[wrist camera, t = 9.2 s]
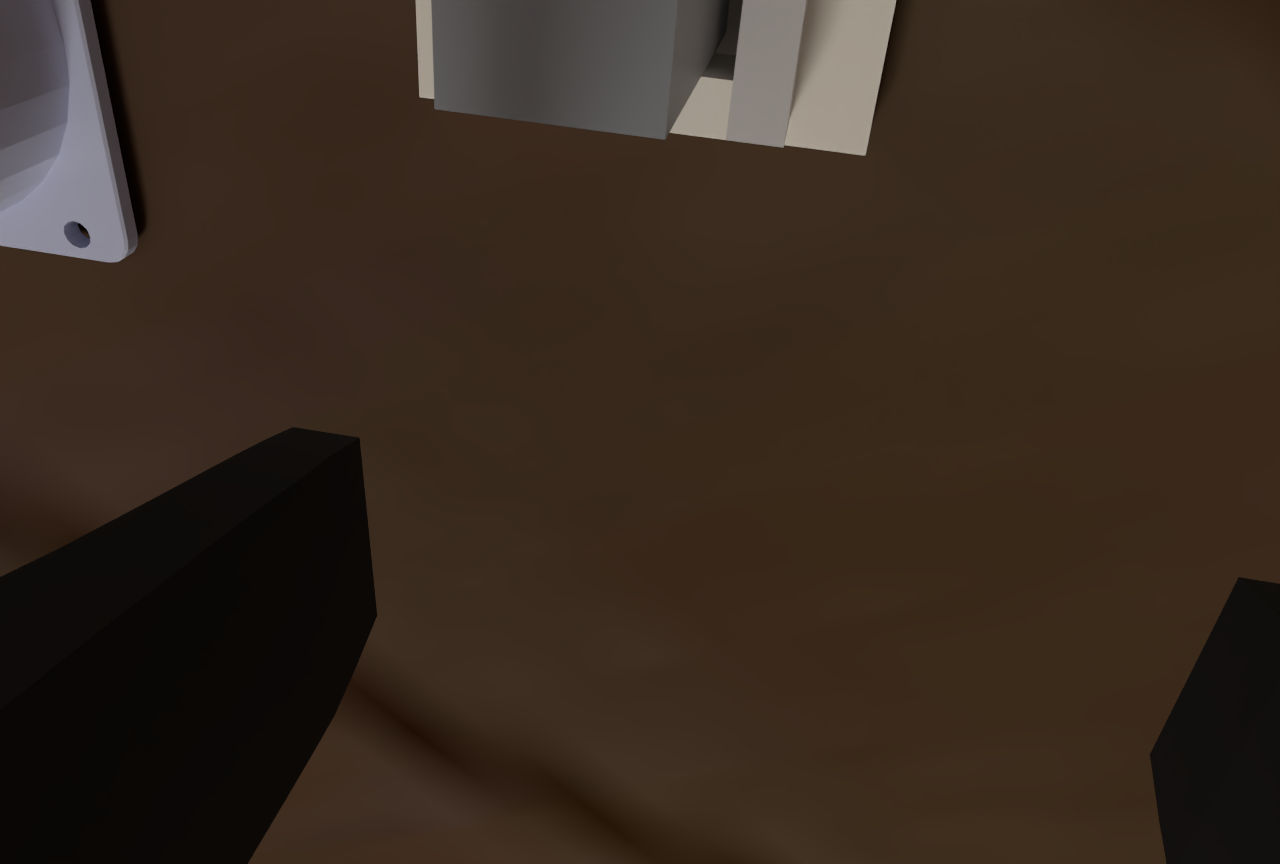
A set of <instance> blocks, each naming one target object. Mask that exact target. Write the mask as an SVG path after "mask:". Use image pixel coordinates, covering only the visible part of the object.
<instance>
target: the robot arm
mask: <svg viewBox="0 0 1280 864" xmlns="http://www.w3.org/2000/svg"><path fill="white" fill-rule="evenodd" d="M78 223H80V224H82V225H83V226H84V227H85V228H86V229H87V231H88V233H89V235H90V239H89V238H86V237H85V236H84V235H83V234H82V233H81V232H80V229H79V227H78ZM137 245H138V235H137V230H136V225H135V220H134V215H133V210H132V205H131V200H130V195H129V190H128V185H127V180H126V175H125V170H124V165H123V160H122V155H121V150H120V145H119V140H118V135H117V130H116V125H115V120H114V116H113V111H112V106H111V101H110V96H109V91H108V86H107V81H106V76H105V71H104V66H103V61H102V56H101V51H100V46H99V41H98V36H97V31H96V26H95V21H94V16H93V11H92V6H91V1H90V0H0V246H7V247H13V248H20V249H26V250H33V251H39V252H45V253H52V254H58V255H65V256H71V257H78V258H84V259H90V260H97V261H103V262H118V261H120V260H122V259H123V258H125V257H127V256H128V255H130V254H131V253H133V252H134V251H135V249H136V247H137ZM376 617H377V610H376V600H375V590H374V580H373V570H372V560H371V550H370V539H369V529H368V519H367V509H366V499H365V489H364V479H363V469H362V459H361V449H360V439H359V438H358V437H351V436H345V435H339V434H332V433H326V432H320V431H313V430H307V429H301V428H295V427H292V428H290V429H288V430H286V431H284V432H281V433H279V434H277V435H275V436H272V437H270V438H268V439H266V440H264V441H262V442H260V443H258V444H256V445H254V446H252V447H250V448H248V449H246V450H244V451H242V452H240V453H238V454H236V455H235V456H233V457H231V458H229V459H227V460H225V461H223V462H221V463H219V464H217V465H216V466H214V467H212V468H210V469H208V470H206V471H204V472H203V473H201V474H199V475H197V476H195V477H193V478H191V479H189V480H188V481H186V482H184V483H182V484H180V485H178V486H176V487H175V488H173V489H171V490H169V491H167V492H165V493H163V494H162V495H160V496H158V497H156V498H154V499H152V500H150V501H148V502H146V503H145V504H143V505H141V506H139V507H137V508H135V509H133V510H131V511H129V512H127V513H126V514H124V515H122V516H120V517H118V518H116V519H114V520H112V521H110V522H109V523H107V524H105V525H103V526H101V527H99V528H97V529H95V530H93V531H92V532H90V533H88V534H86V535H84V536H82V537H80V538H78V539H76V540H74V541H73V542H71V543H69V544H67V545H65V546H63V547H61V548H59V549H57V550H55V551H53V552H51V553H49V554H47V555H45V556H43V557H41V558H39V559H37V560H35V561H32V562H30V563H28V564H26V565H24V566H22V567H20V568H18V569H16V570H14V571H12V572H10V573H8V574H6V575H4V576H2V577H0V864H248V862H249V860H250V859H251V857H252V855H253V854H254V852H255V850H256V849H257V847H258V845H259V844H260V842H261V840H262V839H263V837H264V835H265V834H266V832H267V830H268V829H269V827H270V825H271V823H272V822H273V820H274V818H275V817H276V815H277V813H278V812H279V810H280V808H281V807H282V805H283V803H284V802H285V800H286V798H287V797H288V795H289V793H290V791H291V790H292V788H293V786H294V785H295V783H296V781H297V779H298V778H299V776H300V774H301V773H302V771H303V769H304V767H305V766H306V764H307V762H308V761H309V759H310V757H311V755H312V754H313V752H314V750H315V749H316V747H317V745H318V743H319V742H320V740H321V738H322V736H323V735H324V733H325V731H326V729H327V728H328V726H329V724H330V722H331V721H332V719H333V717H334V715H335V713H336V711H337V709H338V706H339V704H340V702H341V700H342V697H343V695H344V693H345V691H346V688H347V686H348V684H349V682H350V679H351V677H352V675H353V673H354V670H355V668H356V666H357V663H358V661H359V658H360V656H361V653H362V651H363V649H364V646H365V644H366V641H367V639H368V636H369V634H370V632H371V629H372V627H373V624H374V622H375V619H376ZM1150 757H1151V765H1152V772H1153V779H1154V786H1155V793H1156V801H1157V808H1158V815H1159V822H1160V828H1161V833H1162V839H1163V845H1164V851H1165V856H1166V862H1167V864H1280V584H1277V583H1271V582H1265V581H1258V580H1252V579H1246V578H1240V577H1239V578H1238V580H1237V582H1236V584H1235V586H1234V588H1233V590H1232V592H1231V594H1230V596H1229V598H1228V600H1227V602H1226V604H1225V606H1224V608H1223V610H1222V612H1221V614H1220V616H1219V618H1218V620H1217V622H1216V624H1215V626H1214V628H1213V630H1212V632H1211V634H1210V636H1209V638H1208V640H1207V642H1206V644H1205V646H1204V648H1203V650H1202V652H1201V654H1200V656H1199V658H1198V660H1197V662H1196V664H1195V666H1194V668H1193V670H1192V672H1191V674H1190V676H1189V678H1188V680H1187V682H1186V684H1185V686H1184V688H1183V690H1182V692H1181V694H1180V696H1179V698H1178V700H1177V701H1176V703H1175V705H1174V707H1173V709H1172V711H1171V713H1170V715H1169V717H1168V719H1167V721H1166V723H1165V725H1164V727H1163V729H1162V731H1161V733H1160V735H1159V737H1158V739H1157V741H1156V743H1155V745H1154V747H1153V749H1152V751H1151V753H1150Z"/></svg>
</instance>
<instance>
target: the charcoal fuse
mask: <svg viewBox="0 0 1280 864" xmlns="http://www.w3.org/2000/svg"><path fill="white" fill-rule="evenodd" d="M729 3H730V0H431V8H432V40H433V72H434V104H435V109H438V110H446V111H453V112H461V113H468V114H476V115H483V116H491V117H498V118H506V119H514V120H521V121H529V122H536V123H544V124H551V125H559V126H566V127H574V128H582V129H589V130H597V131H604V132H612V133H619V134H627V135H634V136H642V137H650V138H657V139H666V138H667V136H668V134H669V132H670V130H671V129H672V127H673V125H674V123H675V122H676V120H677V118H678V116H679V115H680V113H681V111H682V109H683V108H684V106H685V104H686V102H687V101H688V99H689V97H690V95H691V93H692V92H693V90H694V88H695V86H696V85H697V83H698V81H699V79H700V78H701V76H702V74H703V72H704V71H705V69H706V67H707V65H708V63H709V62H710V60H711V58H712V56H713V55H714V53H715V51H716V49H717V48H718V46H719V44H720V42H721V41H722V39H723V37H724V35H725V34H726V28H727V20H728V11H729Z"/></svg>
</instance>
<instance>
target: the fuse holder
mask: <svg viewBox="0 0 1280 864" xmlns="http://www.w3.org/2000/svg"><path fill="white" fill-rule="evenodd" d="M895 5H896V0H730V3H729V11H728V20H727V28H726V34H725V35H724V37H723V39H722V41H721V42H720V44H719V46H718V48H717V49H716V51H715V53H714V55H713V56H712V58H711V60H710V62H709V63H708V65H707V67H706V69H705V71H704V72H703V74H702V76H701V78H700V79H699V81H698V83H697V85H696V86H695V88H694V90H693V92H692V93H691V95H690V97H689V99H688V101H687V102H686V104H685V106H684V108H683V109H682V111H681V113H680V115H679V116H678V118H677V120H676V122H675V123H674V125H673V127H672V129H671V130H670V132H669V133H676V134H684V135H692V136H699V137H707V138H714V139H722V140H730V141H737V142H745V143H752V144H760V145H768V146H775V147H783V148H784V145H788V146H796V147H803V148H811V149H819V150H826V151H834V152H842V153H849V154H857V155H864V156H865V155H866V150H867V145H868V140H869V135H870V130H871V125H872V120H873V115H874V110H875V105H876V100H877V95H878V90H879V85H880V80H881V75H882V70H883V65H884V60H885V55H886V50H887V45H888V40H889V35H890V30H891V25H892V20H893V15H894V10H895ZM416 20H417V46H418V71H419V97H422V98H430V99H434V72H433V40H432V8H431V0H416Z"/></svg>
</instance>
